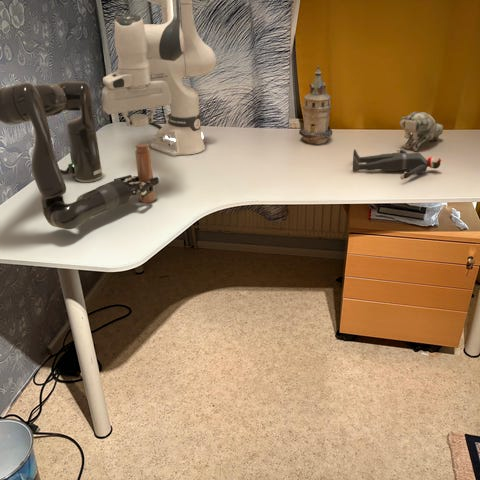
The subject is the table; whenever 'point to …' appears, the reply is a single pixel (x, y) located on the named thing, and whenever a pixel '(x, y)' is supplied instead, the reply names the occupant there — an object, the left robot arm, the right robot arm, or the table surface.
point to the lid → (139, 120)
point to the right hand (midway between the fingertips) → (139, 123)
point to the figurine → (420, 129)
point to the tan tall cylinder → (144, 168)
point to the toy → (396, 162)
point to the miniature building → (316, 112)
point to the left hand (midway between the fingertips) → (152, 178)
